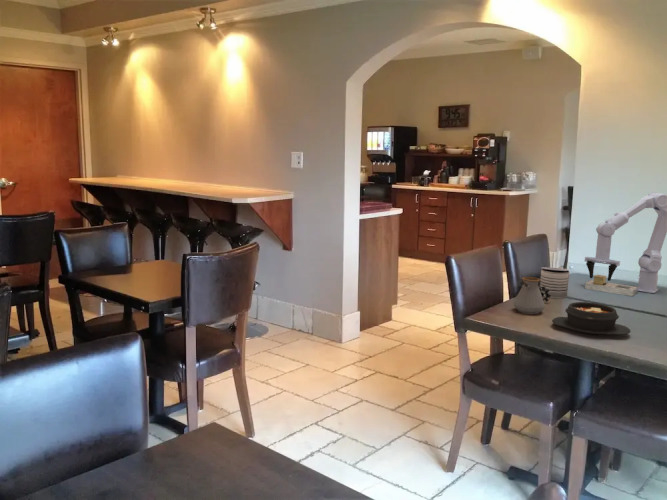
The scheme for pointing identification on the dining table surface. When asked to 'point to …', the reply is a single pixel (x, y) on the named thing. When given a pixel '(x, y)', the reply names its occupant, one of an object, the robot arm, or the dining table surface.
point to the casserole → (591, 319)
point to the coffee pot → (529, 297)
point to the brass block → (600, 279)
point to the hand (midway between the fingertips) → (600, 279)
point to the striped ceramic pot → (555, 281)
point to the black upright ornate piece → (545, 293)
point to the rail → (612, 288)
